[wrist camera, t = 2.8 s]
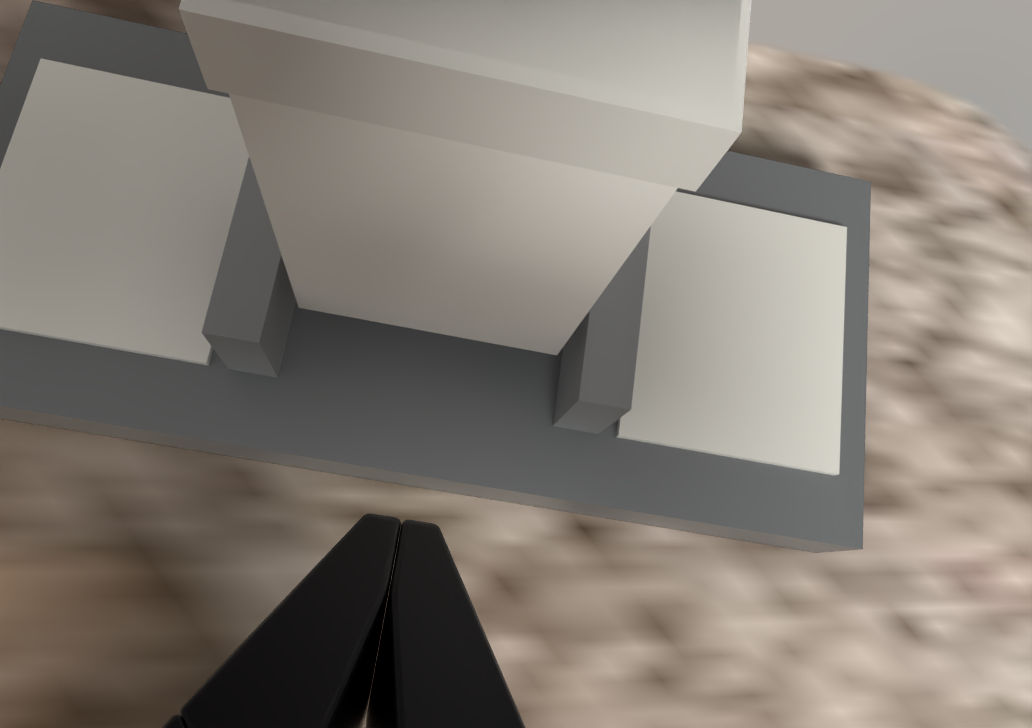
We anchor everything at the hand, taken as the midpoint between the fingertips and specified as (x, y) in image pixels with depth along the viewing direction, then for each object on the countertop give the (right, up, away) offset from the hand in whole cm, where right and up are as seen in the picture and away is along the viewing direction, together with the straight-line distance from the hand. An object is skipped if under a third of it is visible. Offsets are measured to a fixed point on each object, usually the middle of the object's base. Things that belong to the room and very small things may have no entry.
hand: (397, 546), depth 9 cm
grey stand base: (-1, +4, +10) cm, 11 cm away
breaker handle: (0, +4, +7) cm, 8 cm away
